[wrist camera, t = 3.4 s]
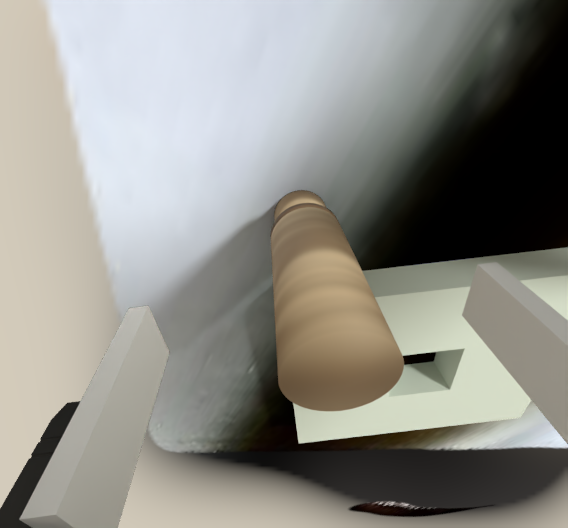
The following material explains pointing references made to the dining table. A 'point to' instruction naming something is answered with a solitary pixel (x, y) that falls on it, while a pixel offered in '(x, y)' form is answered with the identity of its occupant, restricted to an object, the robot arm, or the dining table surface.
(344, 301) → the peg
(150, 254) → the dining table surface
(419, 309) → the board
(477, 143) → the dining table surface
